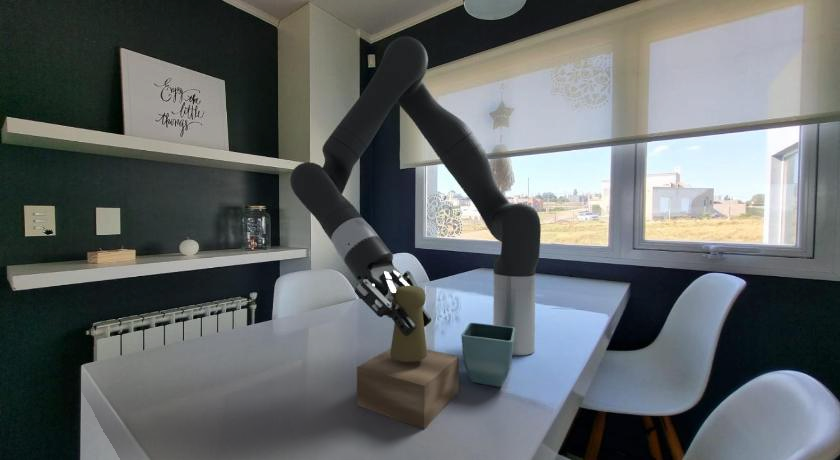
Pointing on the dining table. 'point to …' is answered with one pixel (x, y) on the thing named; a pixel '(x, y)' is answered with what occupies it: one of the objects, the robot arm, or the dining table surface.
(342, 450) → the dining table surface
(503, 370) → the flower pot
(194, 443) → the dining table surface
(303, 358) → the dining table surface
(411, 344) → the cork
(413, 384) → the walnut block
